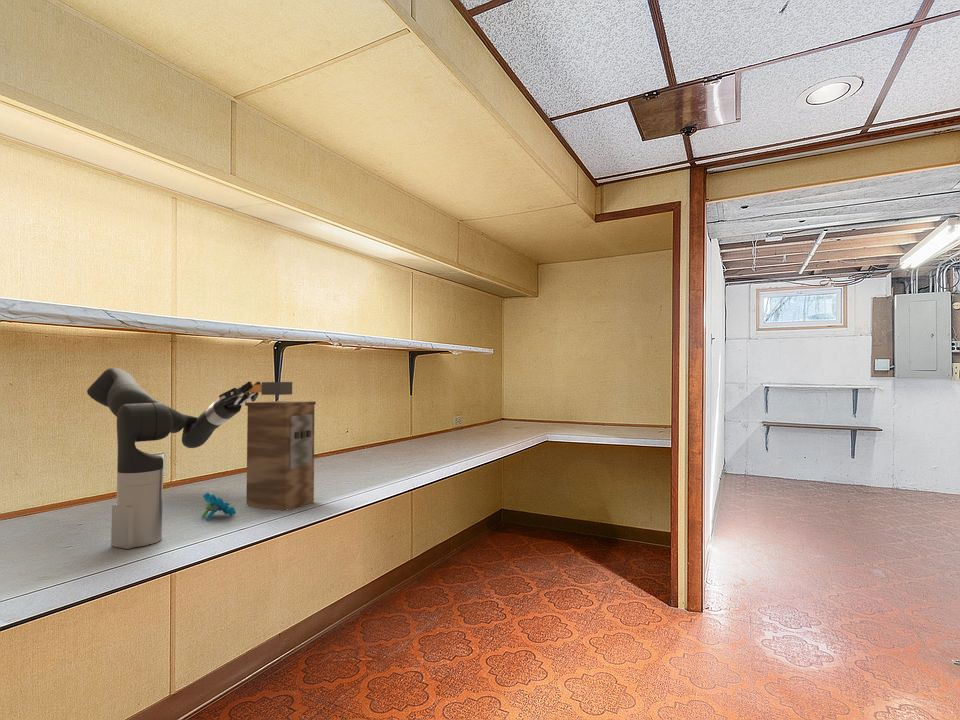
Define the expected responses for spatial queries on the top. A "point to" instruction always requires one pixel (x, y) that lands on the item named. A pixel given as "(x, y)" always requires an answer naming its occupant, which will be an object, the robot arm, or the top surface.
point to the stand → (280, 454)
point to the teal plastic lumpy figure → (216, 506)
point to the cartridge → (273, 388)
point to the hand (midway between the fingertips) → (255, 384)
